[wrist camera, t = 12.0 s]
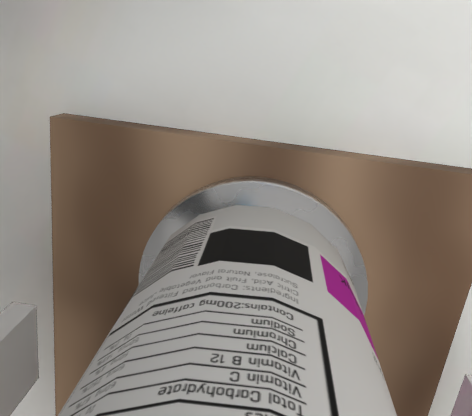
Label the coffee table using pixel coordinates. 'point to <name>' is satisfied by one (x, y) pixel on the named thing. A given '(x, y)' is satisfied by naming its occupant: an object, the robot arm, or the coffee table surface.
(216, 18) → the coffee table surface
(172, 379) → the supplement can
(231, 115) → the coffee table surface
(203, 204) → the large steel flange
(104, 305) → the walnut board
